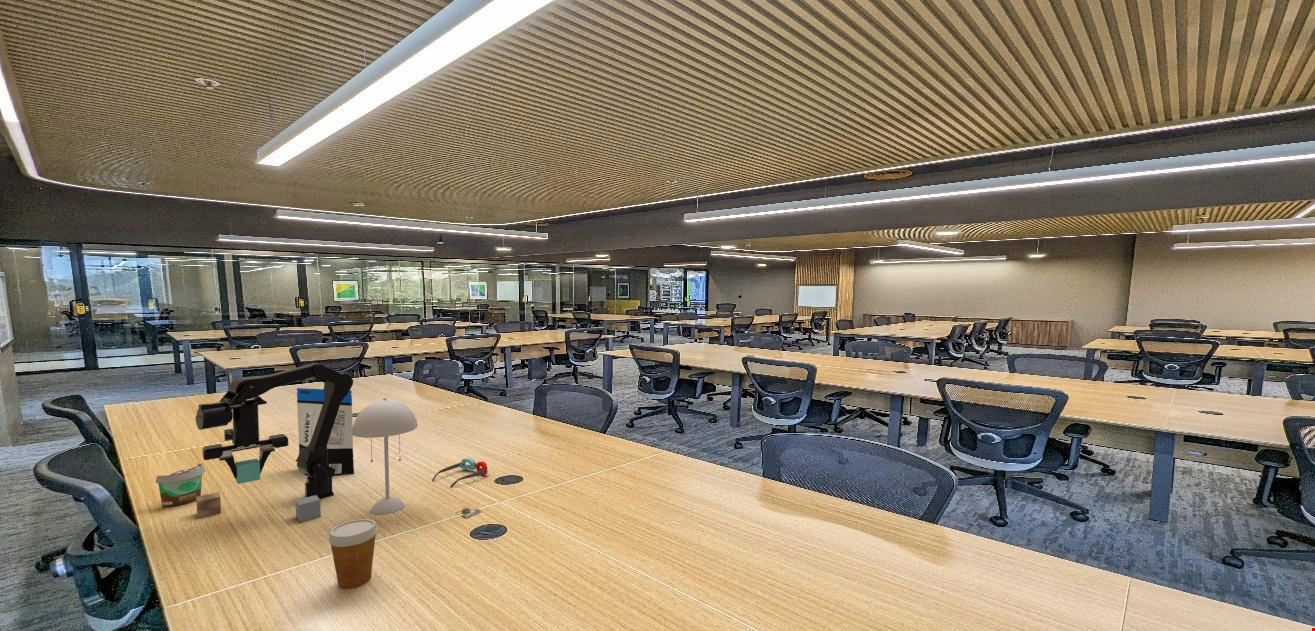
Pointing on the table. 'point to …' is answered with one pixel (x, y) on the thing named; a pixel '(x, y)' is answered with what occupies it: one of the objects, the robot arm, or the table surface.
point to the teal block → (247, 470)
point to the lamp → (385, 438)
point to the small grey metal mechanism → (466, 510)
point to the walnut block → (208, 505)
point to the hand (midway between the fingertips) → (247, 475)
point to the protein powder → (341, 431)
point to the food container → (180, 486)
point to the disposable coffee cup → (353, 551)
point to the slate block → (308, 508)
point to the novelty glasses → (465, 467)
